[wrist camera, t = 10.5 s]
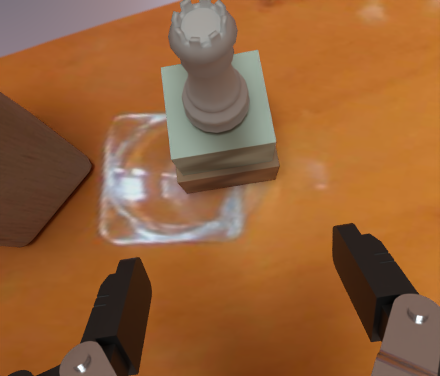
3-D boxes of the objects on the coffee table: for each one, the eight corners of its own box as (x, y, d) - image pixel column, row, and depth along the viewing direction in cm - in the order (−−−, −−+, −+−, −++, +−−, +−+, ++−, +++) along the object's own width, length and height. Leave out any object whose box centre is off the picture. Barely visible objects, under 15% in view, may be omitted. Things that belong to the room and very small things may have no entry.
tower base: (187, 193, 29) (164, 167, 21) (177, 113, 31) (153, 62, 23) (275, 179, 28) (285, 148, 21) (259, 98, 30) (263, 42, 23)
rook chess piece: (174, 124, 22) (133, 47, 14) (199, 68, 23) (172, -34, 15) (236, 144, 21) (229, 75, 13) (259, 86, 22) (264, -12, 14)
